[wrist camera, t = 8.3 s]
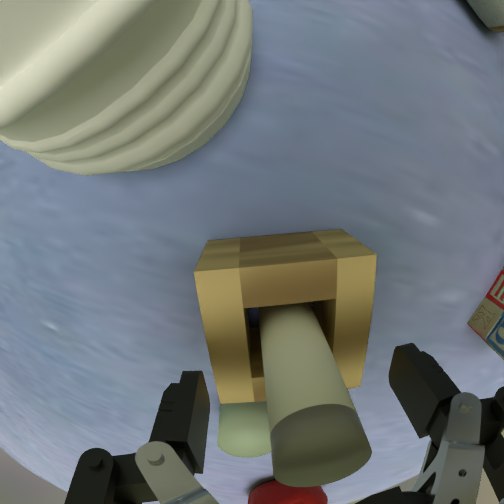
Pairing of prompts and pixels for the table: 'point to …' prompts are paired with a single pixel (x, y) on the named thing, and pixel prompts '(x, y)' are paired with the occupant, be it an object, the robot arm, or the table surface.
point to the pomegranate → (286, 494)
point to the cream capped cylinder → (307, 401)
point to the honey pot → (119, 79)
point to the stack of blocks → (491, 317)
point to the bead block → (283, 301)
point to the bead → (244, 429)
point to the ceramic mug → (490, 13)
